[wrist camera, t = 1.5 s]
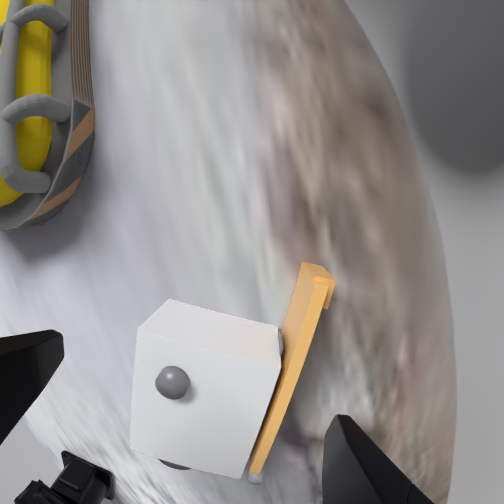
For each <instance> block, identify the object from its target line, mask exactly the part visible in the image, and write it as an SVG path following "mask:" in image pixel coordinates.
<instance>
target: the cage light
mask: <svg viewBox="0 0 504 504" xmlns="http://www.w3.org/2000/svg"><path fill="white" fill-rule="evenodd" d="M94 116H95V109H94V100H93V90H92V80H91V68H90V52H89V25H88V0H0V231H5V230H12V229H19V228H26V227H31V226H36V225H42V224H43V223H44V222H46V221H47V220H49V219H50V218H52V217H53V216H55V215H56V214H58V213H59V212H60V211H61V209H62V208H63V207H64V205H65V204H66V203H67V202H68V200H69V199H70V198H71V197H72V195H73V194H74V193H75V191H76V189H77V187H78V184H79V182H80V180H81V178H82V176H83V174H84V172H85V170H86V168H87V165H88V161H89V156H90V152H91V148H92V144H93V140H94Z"/></svg>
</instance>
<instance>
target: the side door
mask: <svg viewBox="0 0 504 504" xmlns="http://www.w3.org/2000/svg"><path fill="white" fill-rule="evenodd" d="M335 283H336V280H335V279H334V278H333V277H332V276H331V275H330V274H329V273H328V271H327V270H326V269H325V268H324V267H323V266H319V265H315V264H311V263H307V262H305V263H301V267H300V271H299V274H298V278H297V282H296V285H295V289H294V292H293V296H292V299H291V303H290V306H289V310H288V313H287V317H286V320H285V323H284V327H283V330H282V341H283V352H282V355H281V369H280V372H279V375H278V378H277V381H276V384H275V387H274V390H273V393H272V396H271V399H270V402H269V404H268V407H267V410H266V413H265V416H264V418H263V421H262V424H261V427H260V429H259V432H258V435H257V437H256V440H255V443H254V445H253V448H252V451H251V453H250V464H249V478H248V481H249V482H250V483H251V484H260V483H262V482H263V465H264V462H265V460H266V458H267V456H268V453H269V451H270V449H271V446H272V444H273V441H274V439H275V437H276V434H277V432H278V429H279V427H280V425H281V422H282V420H283V417H284V415H285V412H286V409H287V407H288V404H289V402H290V399H291V396H292V394H293V391H294V389H295V386H296V383H297V380H298V378H299V375H300V372H301V369H302V367H303V364H304V361H305V358H306V355H307V352H308V349H309V347H310V344H311V341H312V338H313V335H314V332H315V329H316V325H317V322H318V319H319V316H320V313H321V310H322V308H323V309H328V306H329V303H330V300H331V297H332V293H333V290H334V287H335Z"/></svg>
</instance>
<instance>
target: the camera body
mask: <svg viewBox="0 0 504 504" xmlns="http://www.w3.org/2000/svg"><path fill="white" fill-rule="evenodd" d="M282 352H283V341H282V332H281V329H280V330H279V334H278V326H274V325H270V324H265V323H261V322H257V321H253V320H249V319H244V318H240V317H236V316H232V315H228V314H224V313H221V312H217V311H213V310H209V309H205V308H201V307H198V306H194V305H190V304H187V303H183V302H180V301H176V300H173V299H168V300H167V301H166V302H165V303H164V304H163V305H162V306H161V307H160V308H159V309H158V310H157V311H156V312H154V313H153V314H152V315H151V316H150V317H149V318H148V319H147V320H146V321H145V322H144V323H143V324H142V325H141V326H140V327H139V328H138V331H137V340H136V350H135V360H134V371H133V384H132V399H131V419H130V449H132V450H135V451H138V452H140V453H143V454H146V455H149V456H152V457H155V458H158V459H159V460H160V461H161V462H162V463H163V464H165V465H167V466H169V467H171V468H174V469H180V470H188V469H196V470H200V471H204V472H208V473H213V474H217V475H222V476H227V477H232V478H237V479H241V476H242V474H243V471H244V469H245V466H246V464H247V461H248V458H249V456H250V453H251V451H252V448H253V445H254V443H255V440H256V437H257V435H258V432H259V429H260V427H261V424H262V421H263V418H264V416H265V413H266V410H267V407H268V404H269V402H270V399H271V396H272V393H273V390H274V387H275V384H276V381H277V378H278V375H279V372H280V369H281V355H282Z"/></svg>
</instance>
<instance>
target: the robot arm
mask: <svg viewBox="0 0 504 504" xmlns="http://www.w3.org/2000/svg"><path fill="white" fill-rule="evenodd" d="M63 358H64V344H63V336H62V334H61V333H59V332H57V331H55V330H52V329H51V330H45V331H39V332H33V333H27V334H21V335H15V336H8V337H2V338H0V445H1V444H2V442H3V441H4V440H5V438H6V437H7V436H8V434H9V433H10V432H11V430H12V429H13V428H14V426H15V425H16V424H17V423H18V421H19V420H20V419H21V417H22V416H23V415H24V414H25V412H26V411H27V410H28V409H29V407H30V406H31V405H32V404H33V402H34V401H35V400H36V399H37V397H38V396H39V395H40V393H41V392H42V391H43V389H44V388H45V387H46V385H47V383H48V382H49V380H50V379H51V377H52V376H53V374H54V373H55V371H56V370H57V368H58V366H59V365H60V363H61V362H62V360H63ZM61 455H62V459H63V464H64V469H63V471H62V472H61V474H60V475H59V476H58V478H57V479H56V480H55V482H54V483H53V485H52V486H51V487H50V488H49V487H48V486H46V485H45V484H44V483H43V482H42V481H41V480H39V481H38V482H36V481H33V480H32V482H31V483H30V484H29V485H28V486H27V488H26V489H25V490H24V491H23V492H22V493H21V494H20V495H19V496H17V497H16V499H15V500H14V502H15V504H101V502H102V500H103V498H106V499H109V500H113V498H114V496H113V487H112V476H111V473H110V472H109V471H107V470H105V469H102V468H100V467H98V466H96V465H93V464H91V463H89V462H87V461H85V460H83V459H80V458H78V457H76V456H74V455H72V454H70V453H68V452H66V451H62V453H61ZM322 491H323V504H434V503H433V502H432V501H431V500H430V499H429V498H428V497H427V496H425V495H424V494H423V493H422V492H421V491H420V490H419V489H418V488H417V487H416V486H415V485H414V484H412V482H411V481H410V480H409V479H408V478H407V477H406V476H405V475H404V474H403V472H402V471H401V470H400V469H399V468H398V467H397V466H396V465H395V464H394V463H393V462H392V461H391V460H390V459H389V458H388V457H387V456H386V455H385V454H384V453H383V452H382V450H381V449H380V448H379V447H378V446H377V445H376V444H375V443H374V442H373V441H372V440H371V439H370V438H369V437H368V436H367V434H366V433H365V432H364V431H363V430H362V429H361V428H360V427H359V426H358V425H357V424H356V423H355V421H354V420H353V419H352V418H351V417H350V416H348V415H340V414H337V415H336V416H335V417H334V418H333V420H332V422H331V424H330V426H329V428H328V430H327V431H326V434H325V439H324V455H323V469H322Z"/></svg>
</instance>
